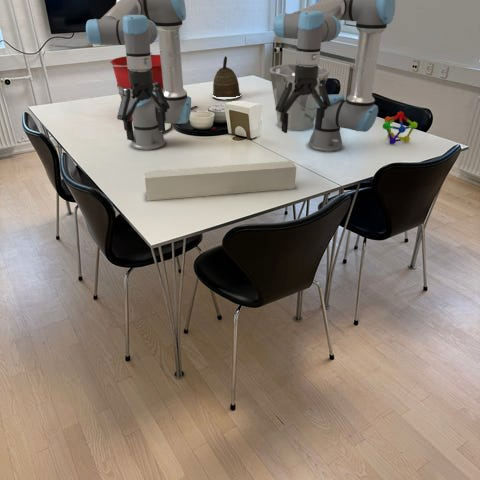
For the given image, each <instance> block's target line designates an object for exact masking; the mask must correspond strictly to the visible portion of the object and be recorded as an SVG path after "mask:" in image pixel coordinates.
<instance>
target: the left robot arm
mask: <svg viewBox="0 0 480 480" xmlns="http://www.w3.org/2000/svg"><path fill="white" fill-rule="evenodd" d="M185 2H186V1H185V0H116V2H115V4H114V5H113V6H112V7H111V8H110V9H108V11H107V12H106V13H105V14H104V15H103V16H102V17H100V19H99V18H93V19H88V20H87V21H86V24H85V33H86V37H87V40H88V42H89V43H90V44H91V45H97V46H124V47H125V54H126V55H125V56H126V57H127V67H128V69H130V70H129V72H128V74H129V82H130V84H131V88H130V89H127V88H123V89H122V93H123V96H122V99H121V100H120V105H119V108H118V112H117V115H116V118H117V120H120V121H122V123H123V129H124V131H125V133H126V139H127V140H128V141H131V142H130V143H131V147H132V148H134V149H135V150H141V151H151V150H153V151H154V150H157V149H161V148H163V147H164V146H165V144H166V140H165V137H164V135H163V134H166V133H168V132H170V131H171V130H172V129H173V125H175V124H177V125H179V124H188V122H189V121H190V118H191V111H192V110H193V109H195V108H198V105H197V106H196V105H194V106H192V97H191V96H189V95H188V92H187V90H186V89H184V81H183V67H182V53H181V50H182V49H181V38H180V36H181V35H180V29H181V28H182V26H183V21H185V20H186V18H187V9H186V3H185ZM157 38H158V47H159V55H160V58H161V68H162V79H163V90H161V85H160V83H157V82H153V74H152V70H150V69H151V68H152V63H151V55H152V54H151V53H152V52H151V45H152V44H154V43H155V41H156V40H157ZM150 52H151V53H150ZM152 82H153V84H152ZM153 89H154V91H155V92H152V91H153ZM131 93H132V94H131ZM130 95H132V96H131V98H130ZM129 101H130V102H129ZM131 116H132V118H133V121H132V120H130V118H131ZM166 124H170V127H169V128H167V129H166Z"/></svg>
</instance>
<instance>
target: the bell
mask: <svg viewBox="0 0 480 480" xmlns="http://www.w3.org/2000/svg"><path fill="white" fill-rule="evenodd" d="M227 63H228V57H227V56H224V58H223V63H222V67H221V68H219V69H218V70H217V71H216V73H215V75H214V78H213V81H212V83H213V84H212V95H214V96H216V97H236V96H240V95H241V96H242V93H241V92H240V83H239V80H238V79H239V78H238V77H237V75H236V73H235V72H234V70H232V69H231V68H230V67H227Z"/></svg>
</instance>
